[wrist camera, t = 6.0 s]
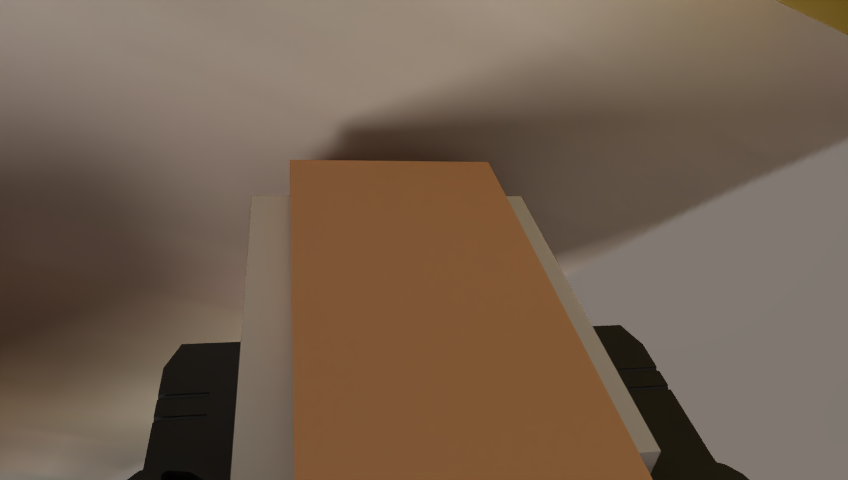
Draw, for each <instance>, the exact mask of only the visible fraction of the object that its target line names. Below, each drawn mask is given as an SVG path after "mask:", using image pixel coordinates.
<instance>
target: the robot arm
mask: <svg viewBox="0 0 848 480" xmlns="http://www.w3.org/2000/svg"><path fill="white" fill-rule="evenodd" d="M506 197H507V199H508V201H509V203H510V205H511V207H512V208H513V210H514V212H515V214H516V216H517V218H518V220H519V222H520V224H521V226H522V228H523V230H524V232H525V234H526V236H527V237H528V239H529V241H530V243H531V245H532V247H533V249H534V251H535V253H536V255H537V257H538V259H539V261H540V263H541V264H542V266H543V268H544V270H545V272H546V274H547V276H548V278H549V280H550V282H551V284H552V286H553V288H554V290H555V292H556V293H557V295H558V297H559V299H560V301H561V303H562V305H563V307H564V309H565V311H566V313H567V315H568V317H569V319H570V321H571V322H572V324H573V326H574V328H575V330H576V332H577V334H578V336H579V338H580V340H581V342H582V344H583V346H584V348H585V349H586V351H587V353H588V355H589V357H590V359H591V361H592V363H593V365H594V367H595V369H596V371H597V373H598V375H599V377H600V378H601V380H602V382H603V384H604V386H605V388H606V390H607V392H608V394H609V396H610V398H611V400H612V402H613V404H614V406H615V407H616V409H617V411H618V413H619V415H620V417H621V419H622V421H623V423H624V425H625V427H626V429H627V431H628V433H629V434H630V436H631V438H632V440H633V442H634V444H635V446H636V448H637V450H638V452H639V454H640V456H641V458H642V460H643V462H644V463H645V465H646V467H647V469H648V471H649V473H650V475H651V477H652V479H653V480H749V479H747V477H746V476H744V475H743V474H742V473H740V472H738V471H736V470H734V469H733V468H731V467H729V466H727V465H725V464H721V463H717V462H716V461H715V460H714V458H713V457H712V455H711V454H710V452H709V451H708V449H707V447H706V446H705V444H704V443H703V441H702V439H701V438H700V436H699V435H698V433H697V431H696V430H695V428H694V426H693V425H692V423H691V422H690V420H689V418H688V417H687V415H686V414H685V412H684V410H683V409H682V407H681V406H680V404H679V402H678V401H677V399H676V397H675V396H674V394H673V393H672V391H671V390H668V385H667V383H666V381H665V380H664V378H663V376H662V375H661V373H660V372H659V371H657V370H656V365H655V363H654V362H653V360H652V359H651V357H650V355H649V354H648V352H647V351H646V349H645V347H644V346H643V344H642V343H640V342H639V341H638V340H637V339H636V338H635V337H633V336H632V335H631V334H630V333H628V332H627V331H626V330H625V329H624V328H623V327H622V326H620V325H614V326H613V325H612V326H592V325H591V323H590V321H589V319H588V317H587V316H586V314H585V312H584V310H583V308H582V306H581V305H580V303H579V301H578V299H577V297H576V296H575V294H574V292H573V290H572V288H571V286H570V285H569V283H568V281H567V279H566V277H565V276H564V274H563V272H562V270H561V268H560V266H559V265H558V263H557V261H556V259H555V257H554V255H553V254H552V252H551V250H550V248H549V246H548V245H547V243H546V241H545V239H544V237H543V235H542V234H541V232H540V230H539V228H538V226H537V225H536V223H535V221H534V219H533V217H532V215H531V214H530V212H529V210H528V208H527V206H526V205H525V203H524V201H523V199H522V197H521V196H506ZM128 480H294V434H293V359H292V285H291V210H290V196H252V203H251V216H250V229H249V242H248V255H247V268H246V281H245V294H244V307H243V321H242V334H241V342H227V343H202V344H182V345H181V346H180V347H179V349H178V350H177V351H176V353H175V354H174V355H173V357H172V358H171V359H170V360H169V362H168V363H167V364H166V366H165V367H164V369H163V374H162V379H161V384H160V389H159V394H158V400H157V404H156V409H155V413H154V423H152V428H151V433H150V438H149V443H148V448H147V453H146V458H145V463H144V468H143V470H141V471H139V472H137V473H136V474H134V475H133V476H132V477H130V478H129V479H128Z"/></svg>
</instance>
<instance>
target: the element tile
mask: <svg viewBox="0 0 848 480" xmlns="http://www.w3.org/2000/svg"><path fill="white" fill-rule="evenodd" d="M777 1H779V2H781V3H783V4H785V5H787V6H789V7H791V8H793V9H795V10H797V11H799V12H801V13H803V14H805V15H807V16H810V17H812V18H814V19H816V20H818V21H820V22H822V23H824V24H826V25H828V26H830V27H832V28H834V29H836V30H839V31H841V32H843V33H845V34H847V35H848V0H777Z"/></svg>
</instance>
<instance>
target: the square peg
mask: <svg viewBox="0 0 848 480" xmlns="http://www.w3.org/2000/svg"><path fill="white" fill-rule="evenodd" d="M290 210H291V285H292V359H293V434H294V480H653V479H652V477H651V475H650V473H649V471H648V469H647V467H646V465H645V463H644V462H643V460H642V458H641V456H640V454H639V452H638V450H637V448H636V446H635V444H634V442H633V440H632V438H631V436H630V434H629V433H628V431H627V429H626V427H625V425H624V423H623V421H622V419H621V417H620V415H619V413H618V411H617V409H616V407H615V406H614V404H613V402H612V400H611V398H610V396H609V394H608V392H607V390H606V388H605V386H604V384H603V382H602V380H601V378H600V377H599V375H598V373H597V371H596V369H595V367H594V365H593V363H592V361H591V359H590V357H589V355H588V353H587V351H586V349H585V348H584V346H583V344H582V342H581V340H580V338H579V336H578V334H577V332H576V330H575V328H574V326H573V324H572V322H571V321H570V319H569V317H568V315H567V313H566V311H565V309H564V307H563V305H562V303H561V301H560V299H559V297H558V295H557V293H556V292H555V290H554V288H553V286H552V284H551V282H550V280H549V278H548V276H547V274H546V272H545V270H544V268H543V266H542V264H541V263H540V261H539V259H538V257H537V255H536V253H535V251H534V249H533V247H532V245H531V243H530V241H529V239H528V237H527V236H526V234H525V232H524V230H523V228H522V226H521V224H520V222H519V220H518V218H517V216H516V214H515V212H514V210H513V208H512V207H511V205H510V203H509V201H508V199H507V197H506V195H505V193H504V191H503V189H502V187H501V185H500V183H499V181H498V179H497V178H496V176H495V174H494V172H493V170H492V168H491V166H490V164H489V162H442V161H355V160H290Z"/></svg>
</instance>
